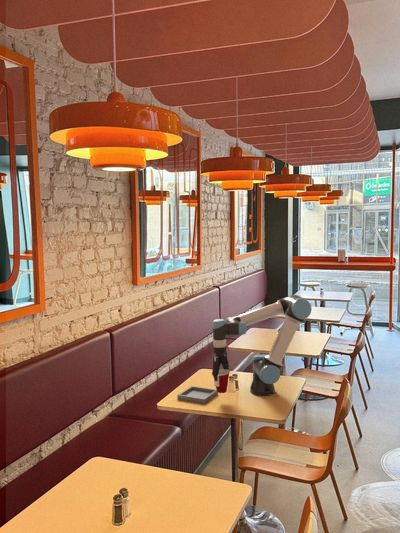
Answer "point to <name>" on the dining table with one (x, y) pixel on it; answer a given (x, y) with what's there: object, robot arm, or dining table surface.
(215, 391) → the tray
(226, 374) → the plastic cup
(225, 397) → the dining table surface
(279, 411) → the dining table surface
